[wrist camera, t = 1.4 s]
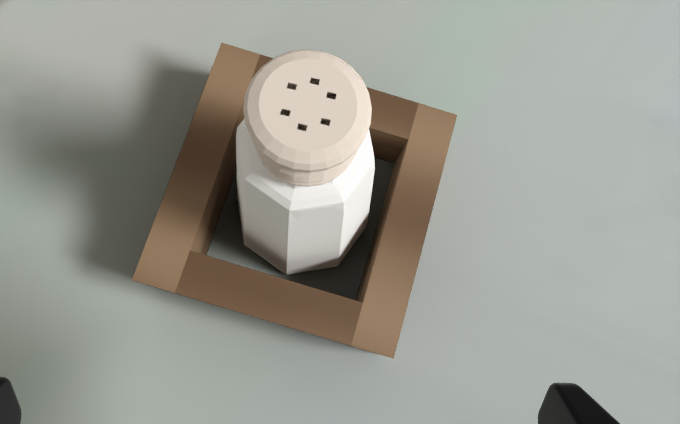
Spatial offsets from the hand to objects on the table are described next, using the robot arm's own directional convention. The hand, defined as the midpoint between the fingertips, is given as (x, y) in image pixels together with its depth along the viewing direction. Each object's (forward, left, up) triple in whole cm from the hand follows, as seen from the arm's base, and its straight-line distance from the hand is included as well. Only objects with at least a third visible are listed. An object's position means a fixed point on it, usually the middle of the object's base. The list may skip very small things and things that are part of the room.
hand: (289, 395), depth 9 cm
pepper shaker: (+6, +1, -13) cm, 14 cm away
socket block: (+6, +1, -12) cm, 14 cm away
